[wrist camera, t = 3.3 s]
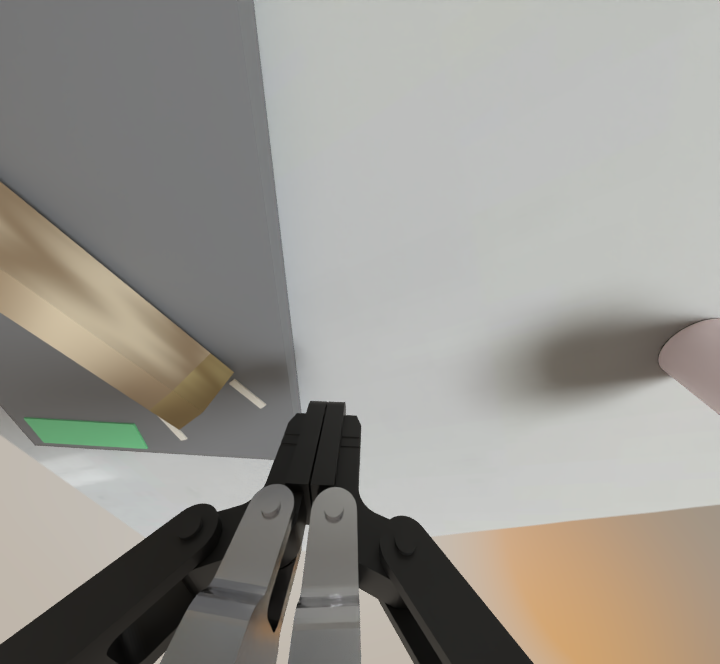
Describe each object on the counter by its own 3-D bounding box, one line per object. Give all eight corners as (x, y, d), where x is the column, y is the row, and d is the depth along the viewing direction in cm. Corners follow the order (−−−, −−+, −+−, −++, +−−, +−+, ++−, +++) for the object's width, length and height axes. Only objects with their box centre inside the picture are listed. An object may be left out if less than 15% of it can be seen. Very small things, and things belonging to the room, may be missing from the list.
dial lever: (-267, 41, 9) (-568, -30, 6) (-271, -70, 8) (-648, -223, 5) (205, 393, 15) (168, 438, 13) (243, 364, 14) (211, 406, 12)
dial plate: (-310, -45, 9) (-434, -88, 8) (248, -46, 8) (222, -93, 7) (56, 429, 21) (33, 446, 19) (304, 443, 20) (299, 462, 19)
